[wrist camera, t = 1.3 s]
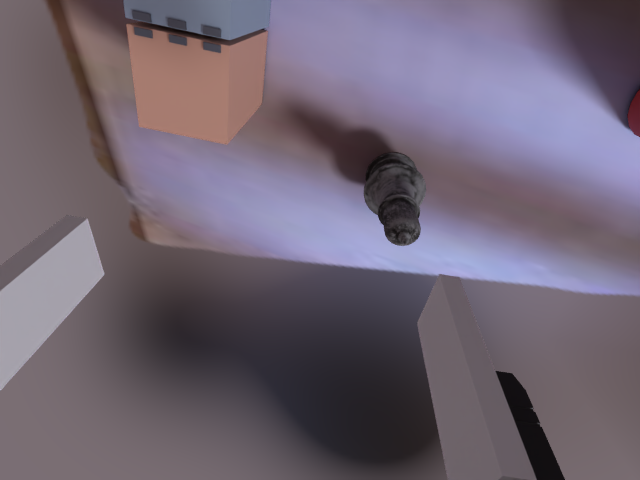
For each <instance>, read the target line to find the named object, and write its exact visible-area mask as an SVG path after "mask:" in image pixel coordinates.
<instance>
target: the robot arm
mask: <svg viewBox="0 0 640 480" xmlns="http://www.w3.org/2000/svg"><path fill="white" fill-rule="evenodd" d="M103 275H104V272H103V268H102V265H101V262H100V259H99V255H98V252H97V248H96V245H95V242H94V238H93V235H92V232H91V228H90V225H89V222H88V219H87V218H81V217H76V216H69V215H66V216H65V217H63V218H62V219H61V220H60V221H58V222H57V223H56V224H54V225H53V226H52V227H50V228H49V229H48V230H46V231H45V232H44V233H43V234H41V235H40V236H38V237H37V238H36V239H35V240H33V241H32V242H31V243H29V244H28V245H27V246H25V247H24V248H23V249H21V250H20V251H19V252H17V253H16V254H15V255H13V256H12V257H11V258H10V259H8V260H7V261H6V262H4V263H3V264H2V265H0V390H1V389H2V388H3V387H4V386H5V385H6V384H7V383H8V382H9V380H10V379H11V378H12V377H13V376H14V375H15V374H16V372H18V370H19V369H20V368H21V367H22V366H23V365H24V364H25V363H26V361H27V360H28V359H29V358H30V357H31V356H32V355H33V354H34V353H35V351H36V350H37V349H38V348H39V347H40V346H41V345H42V344H43V342H44V341H45V340H46V339H47V338H48V337H49V336H50V335H51V334H52V332H53V331H54V330H55V329H56V328H57V327H58V326H59V325H60V323H61V322H62V321H63V320H64V319H65V318H66V316H68V315H69V313H70V312H71V311H72V310H73V309H74V308H75V307H76V306H77V305H78V303H79V302H80V301H81V300H82V299H83V298H84V297H85V296H86V294H87V293H88V292H89V291H90V290H91V289H92V288H93V287H94V286H95V284H96V283H97V282H98V281H99V280H100V279H101V278H102V276H103ZM417 324H418V330H419V335H420V340H421V345H422V350H423V355H424V360H425V366H426V371H427V376H428V381H429V386H430V391H431V396H432V401H433V406H434V411H435V416H436V421H437V426H438V431H439V436H440V441H441V446H442V452H443V457H444V462H445V467H446V472H447V477H448V480H565V479H564V477H563V474H562V472H561V470H560V467H559V465H558V463H557V460H556V458H555V456H554V454H553V451H552V449H551V447H550V445H549V442H548V440H547V438H546V436H545V433H544V431H543V429H542V427H540V422H539V420H538V417H537V415H536V413H535V412H534V411H533V406H532V404H531V401H530V399H529V397H528V395H527V392H526V390H525V389H524V388H523V387H522V385H521V384H520V383H519V381H518V380H517V379H516V378H515V377H514V375H513V374H512V373H506V372H499V371H495V369H494V366H493V364H492V361H491V358H490V356H489V353H488V351H487V348H486V345H485V343H484V340H483V337H482V335H481V332H480V330H479V327H478V324H477V322H476V319H475V316H474V314H473V312H472V309H471V306H470V304H469V301H468V298H467V295H466V293H465V290H464V288H463V285H462V283H461V280H460V277H454V276H448V275H442V274H439V276H438V278H437V281H436V283H435V285H434V287H433V289H432V292H431V294H430V296H429V298H428V301H427V303H426V305H425V307H424V309H423V312H422V314H421V316H420V318H419V320H418V323H417Z"/></svg>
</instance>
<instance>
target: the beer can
mask: <svg viewBox="0 0 640 480" xmlns="http://www.w3.org/2000/svg"><path fill="white" fill-rule="evenodd" d="M628 123H629V127H630V129H631V130H632V132H633V133H634V134H635V135H637V136H639V137H640V89H639V90H638V92H637V93H636V95H635V97H634V99H633V100H632V102H631V104H630V108H629V111H628Z"/></svg>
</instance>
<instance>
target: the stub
mask: <svg viewBox="0 0 640 480" xmlns="http://www.w3.org/2000/svg"><path fill="white" fill-rule="evenodd" d="M126 26H127V33H128V41H129V49H130V57H131V65H132V73H133V81H134V89H135V97H136V105H137V113H138V121H139V127H143V128H148V129H153V130H158V131H163V132H168V133H173V134H178V135H183V136H188V137H192V138H197V139H202V140H207V141H212V142H217V143H222V144H228V143H229V142H230V141H231V140H232V138H233V137H234V136H235V135H236V134H237V133H238V131H239V130H240V129H241V128H242V127H243V126H244V124H245V123H246V122H247V121H248V120H249V119H250V117H251V116H252V115H253V114H254V113H255V111H256V110H257V109H258V108H259V107H260V106H261V104H262V97H263V85H264V72H265V60H266V47H267V35H268V31H266V30H261V29H260V30H258V31H255V32H252V33H249V34H246V35H243V36H241V37H238V38H235V39H232V40H226V39H222V38H217V37H212V36H208V35H203V34H198V33H194V32H189V31H185V30H180V29H175V28H171V27H166V26H161V25H157V24H152V23H148V22H137V23H129V24H126Z"/></svg>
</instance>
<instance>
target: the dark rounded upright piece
mask: <svg viewBox="0 0 640 480" xmlns="http://www.w3.org/2000/svg"><path fill="white" fill-rule="evenodd" d="M425 192H426V185H425V181H424V179H423V177H422V175H421V174H420V173H419V172H418V170H417V169H416V166H415V164H414V162H413V161H412V160H411V159H410V158H409V157H407V156H406V155H404V154H400V153H387V154H383V155H381V156H379V157H377V158H376V159H375V160H374V161H373V162H372V163H371V164H370V166H369V167H368V170H367V172H366V184H365V187H364V198H365V202H366V204H367V206H368V207H369V209H370V210H371V211H372V212H373V213H375V214H377V215H378V217H379V220H380V222H381V223H382V224H383V225H384V231H385V235H386V237H387V239H388V240H389V241H390V242H391V243H393V244H395V245H399V246H405V245H409V244H412V243H413V242H415V241H416V240H417V239H418V237H419V235H420V230H421V228H420V223H419V220H418V218H419V215H420V207H419V206H420V205H421V203H422V201H423V199H424V197H425Z"/></svg>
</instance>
